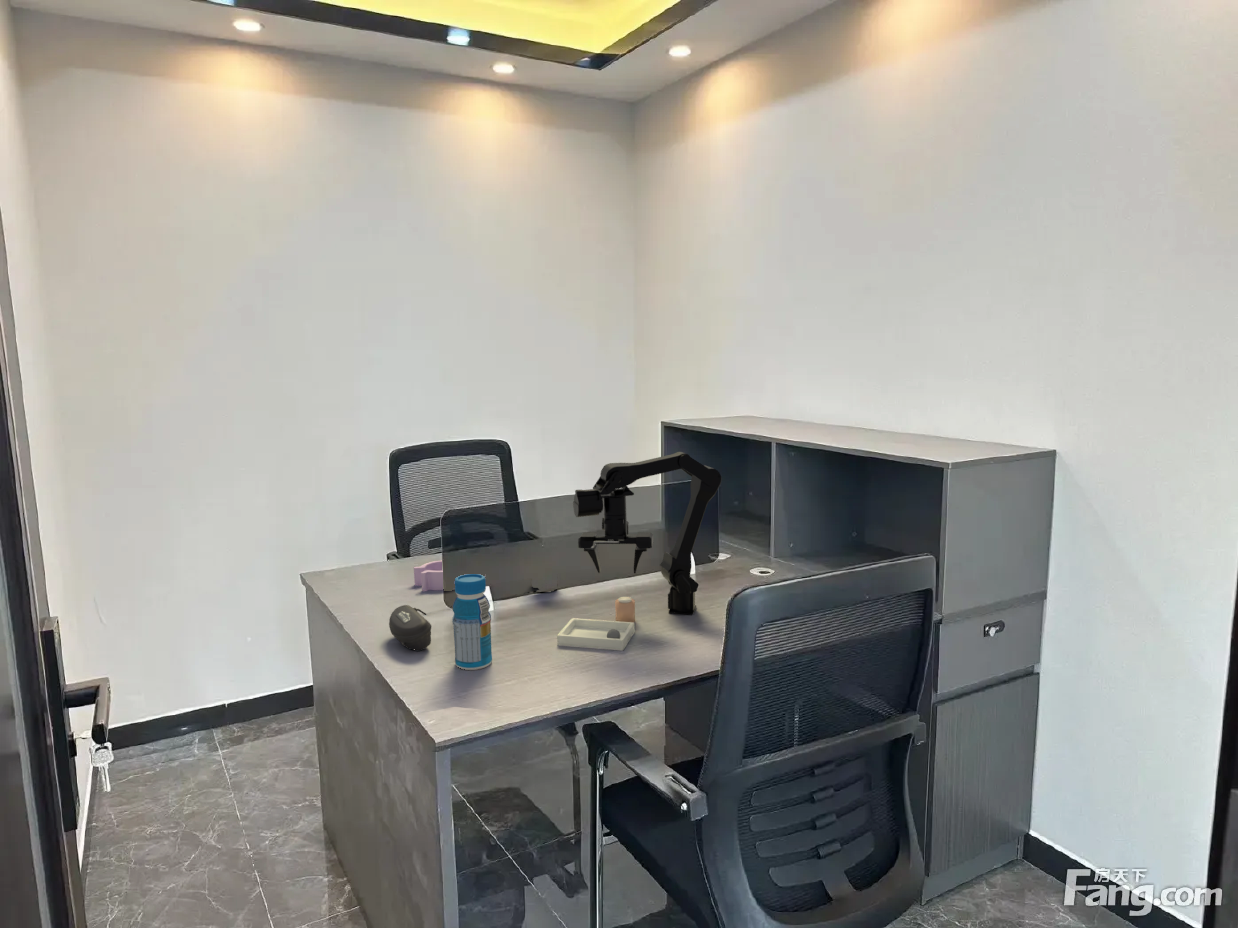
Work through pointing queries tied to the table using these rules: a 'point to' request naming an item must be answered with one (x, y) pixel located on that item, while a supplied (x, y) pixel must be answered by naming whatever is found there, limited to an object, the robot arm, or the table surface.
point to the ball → (613, 634)
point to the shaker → (625, 609)
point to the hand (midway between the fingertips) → (617, 572)
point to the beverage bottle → (471, 623)
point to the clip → (429, 576)
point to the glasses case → (410, 627)
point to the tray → (595, 634)
